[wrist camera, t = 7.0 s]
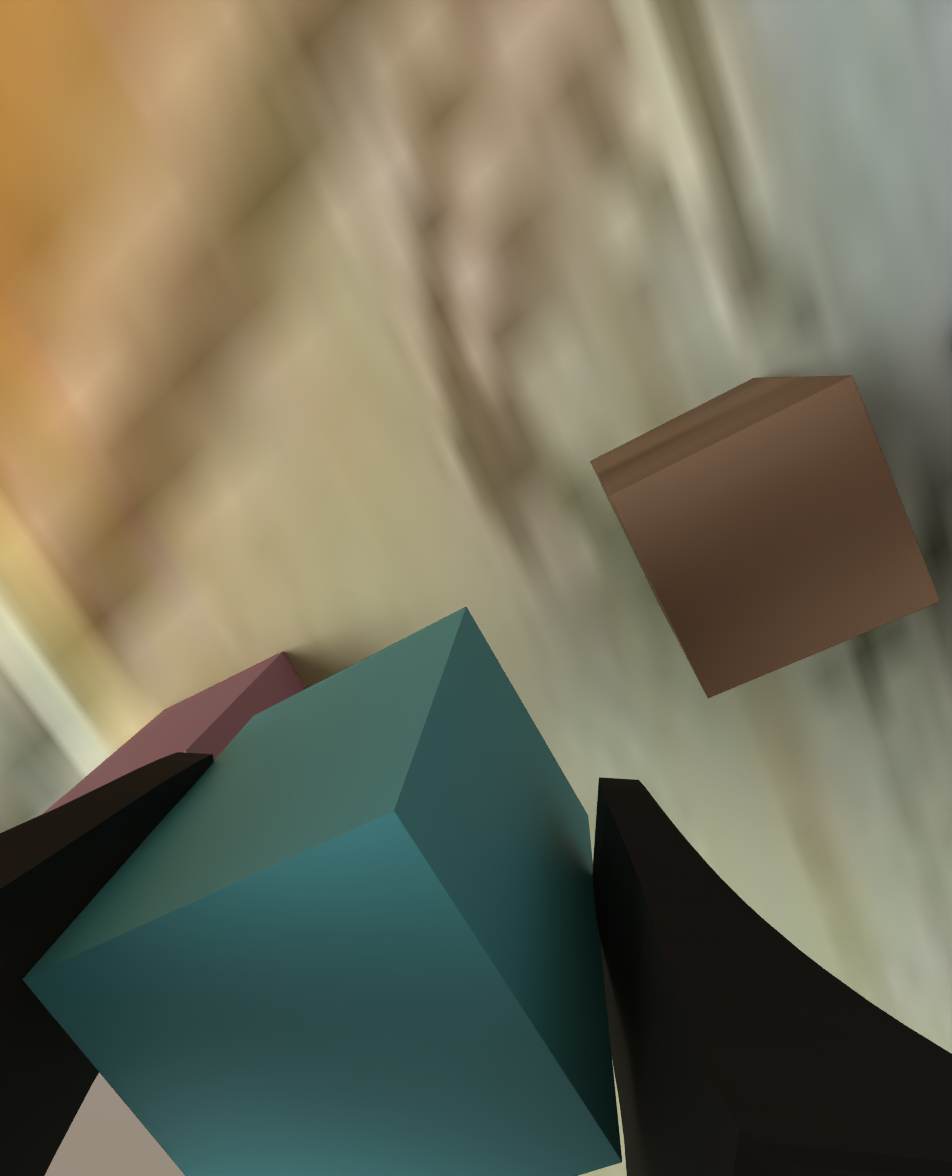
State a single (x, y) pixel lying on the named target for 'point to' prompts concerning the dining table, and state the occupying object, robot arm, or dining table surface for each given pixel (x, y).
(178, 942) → the teal block
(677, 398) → the dining table surface
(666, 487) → the walnut block
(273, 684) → the plum block
